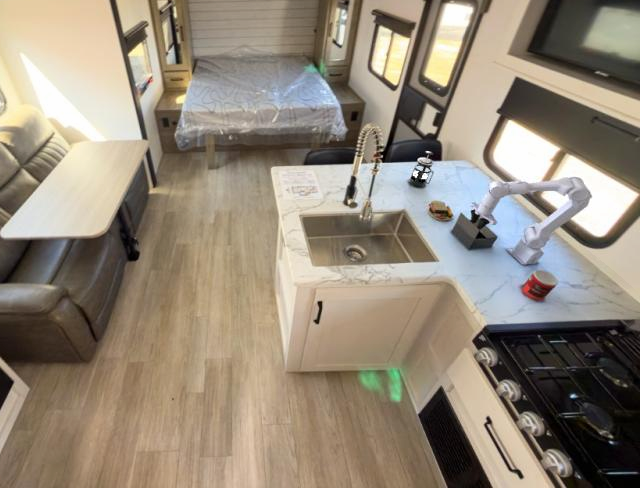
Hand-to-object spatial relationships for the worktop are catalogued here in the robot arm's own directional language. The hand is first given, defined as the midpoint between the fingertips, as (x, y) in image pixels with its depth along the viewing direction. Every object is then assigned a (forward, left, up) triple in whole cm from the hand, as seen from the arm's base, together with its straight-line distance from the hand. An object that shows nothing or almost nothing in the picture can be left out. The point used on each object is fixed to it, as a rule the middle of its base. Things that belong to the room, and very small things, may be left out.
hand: (475, 226), depth 157 cm
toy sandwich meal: (+22, +1, -11) cm, 24 cm away
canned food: (-32, -6, -11) cm, 35 cm away
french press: (+50, -4, -11) cm, 52 cm away
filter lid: (+1, +3, 0) cm, 4 cm away
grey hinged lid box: (+1, -3, -10) cm, 11 cm away
